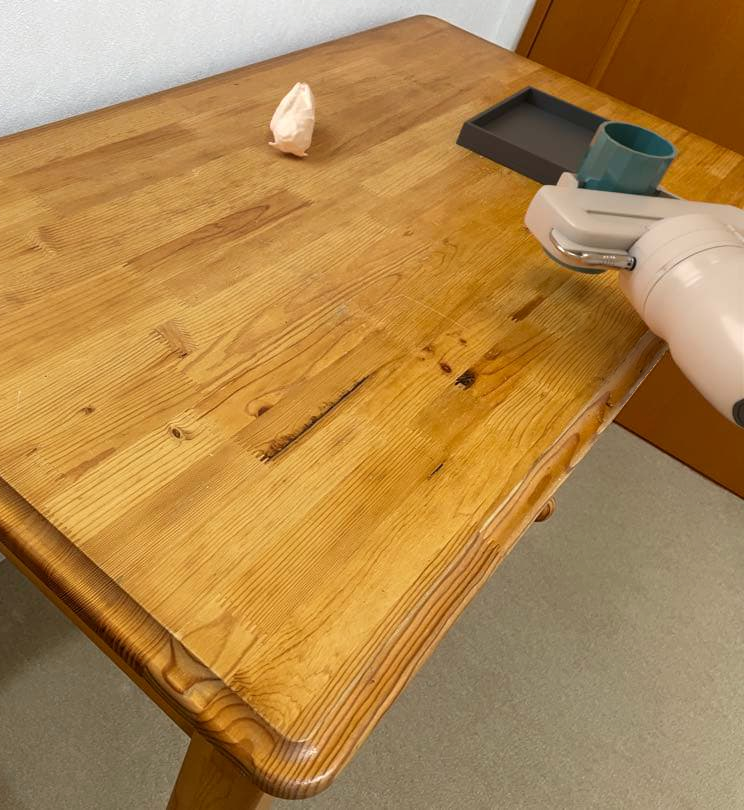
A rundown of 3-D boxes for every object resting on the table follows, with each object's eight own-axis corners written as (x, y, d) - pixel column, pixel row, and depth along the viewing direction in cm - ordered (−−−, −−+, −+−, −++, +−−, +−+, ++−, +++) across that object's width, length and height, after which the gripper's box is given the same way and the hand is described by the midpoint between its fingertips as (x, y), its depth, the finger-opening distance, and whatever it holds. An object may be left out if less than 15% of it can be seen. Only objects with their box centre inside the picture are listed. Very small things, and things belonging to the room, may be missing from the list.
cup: (591, 238, 85) (654, 125, 77) (621, 277, 80) (692, 162, 72) (529, 231, 84) (587, 116, 76) (557, 271, 79) (621, 153, 71)
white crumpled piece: (261, 129, 102) (266, 147, 93) (284, 73, 99) (291, 86, 90) (299, 145, 103) (307, 164, 94) (323, 89, 100) (334, 104, 91)
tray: (520, 104, 119) (528, 85, 117) (622, 149, 114) (633, 129, 112) (455, 143, 106) (463, 121, 104) (568, 196, 100) (579, 174, 98)
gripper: (548, 293, 68) (489, 203, 78) (765, 311, 72) (683, 224, 82) (585, 226, 64) (518, 140, 74) (813, 249, 68) (721, 164, 78)
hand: (606, 184), depth 78 cm, fingers closed on cup, 7 cm apart
